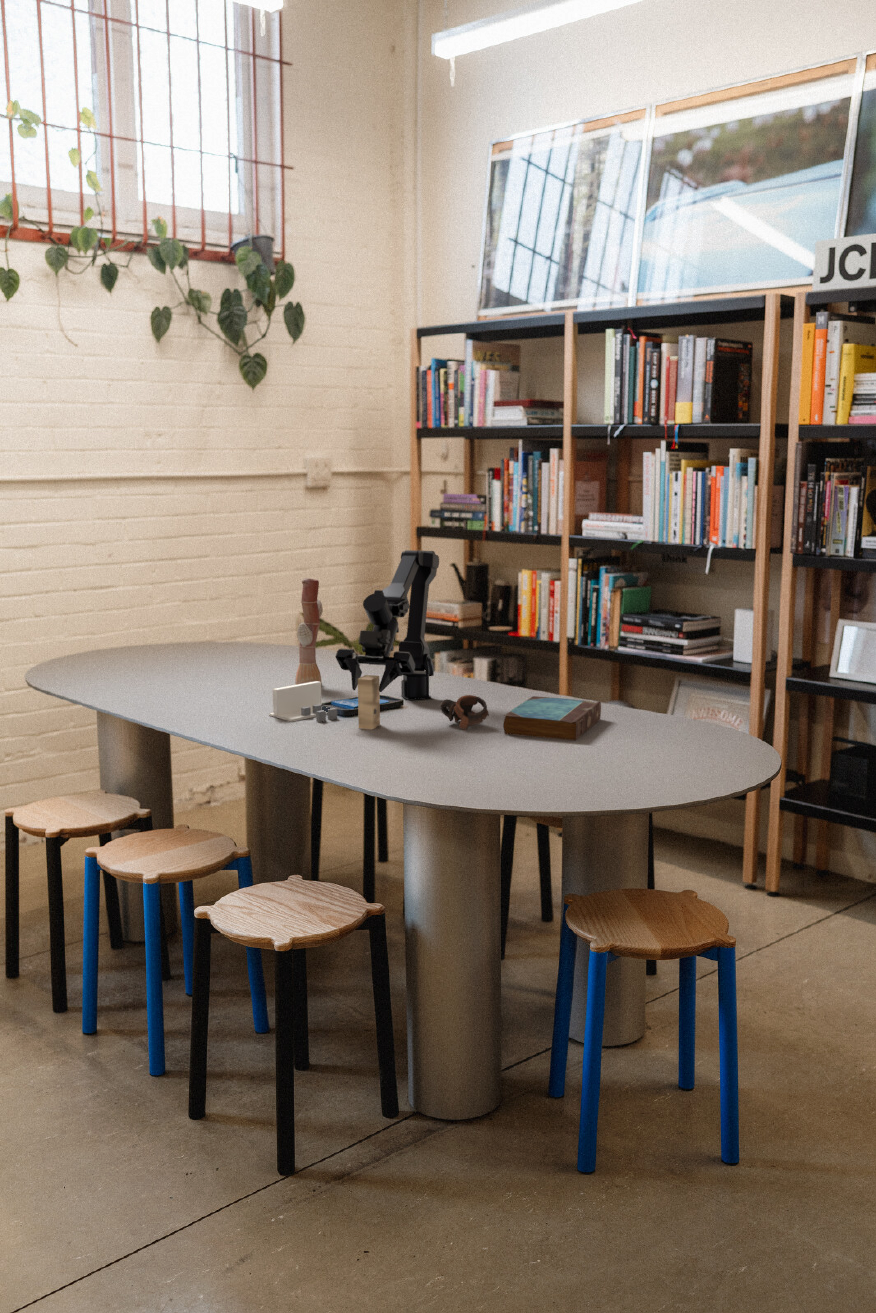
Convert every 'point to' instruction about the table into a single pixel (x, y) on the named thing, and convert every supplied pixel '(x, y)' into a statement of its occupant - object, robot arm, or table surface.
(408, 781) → the table surface
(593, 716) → the book
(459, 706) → the brown looped piece
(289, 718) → the cream board with pegs
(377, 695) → the wooden building block
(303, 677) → the reddish-brown tall column
